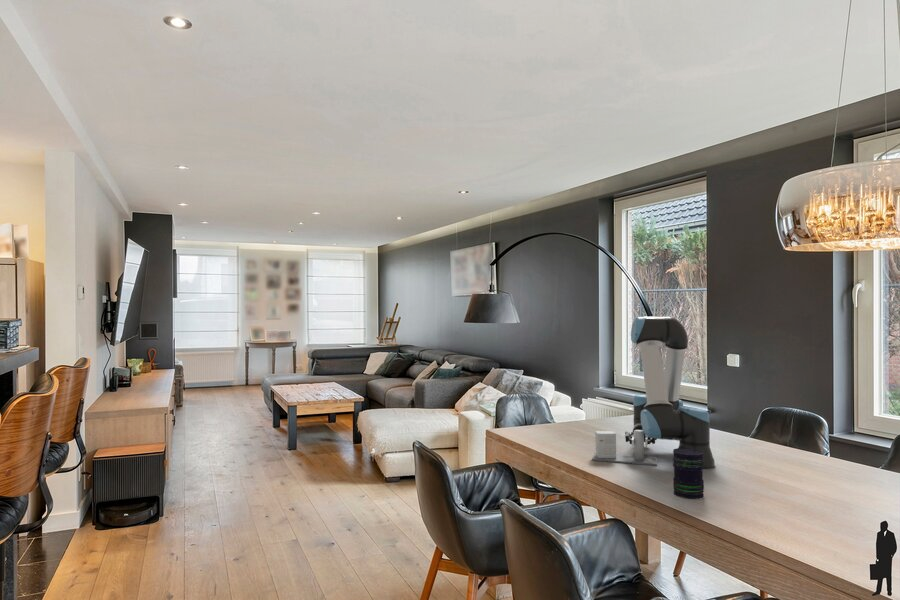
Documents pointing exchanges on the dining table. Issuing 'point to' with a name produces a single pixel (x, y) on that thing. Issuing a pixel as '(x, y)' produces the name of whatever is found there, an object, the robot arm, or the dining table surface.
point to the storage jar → (688, 473)
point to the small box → (605, 444)
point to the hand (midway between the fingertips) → (639, 443)
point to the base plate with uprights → (638, 453)
